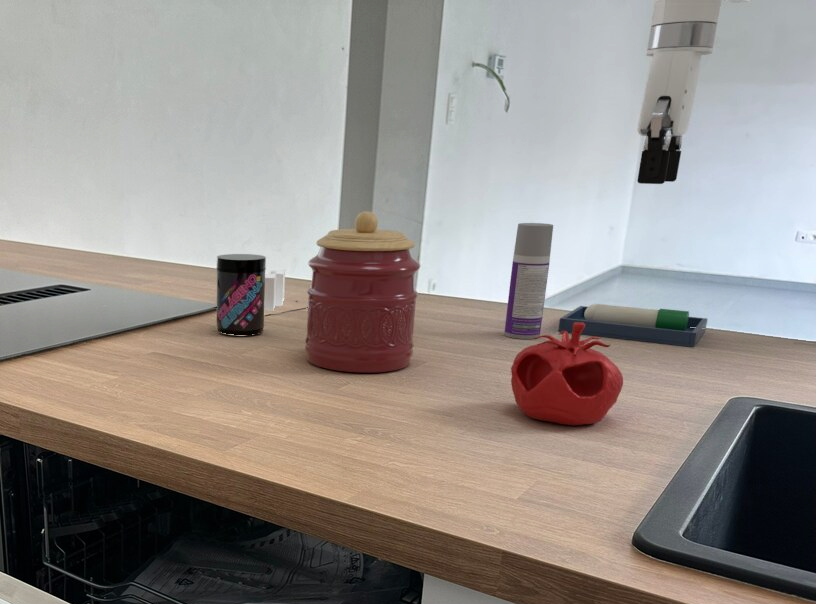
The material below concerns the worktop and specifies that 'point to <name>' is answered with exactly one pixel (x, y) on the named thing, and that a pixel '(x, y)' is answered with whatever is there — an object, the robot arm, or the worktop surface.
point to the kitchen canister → (362, 299)
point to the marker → (638, 316)
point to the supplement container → (240, 293)
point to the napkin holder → (274, 288)
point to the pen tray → (635, 330)
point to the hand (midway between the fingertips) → (656, 182)
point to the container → (528, 280)
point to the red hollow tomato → (565, 380)
